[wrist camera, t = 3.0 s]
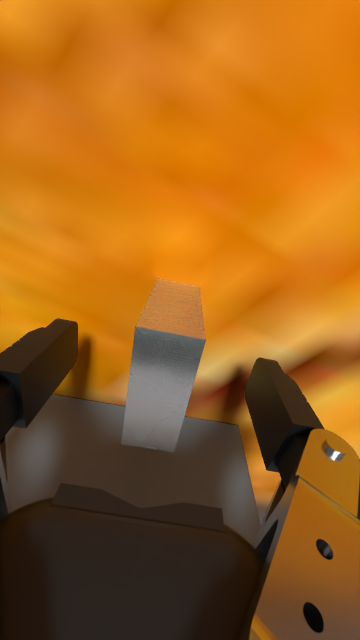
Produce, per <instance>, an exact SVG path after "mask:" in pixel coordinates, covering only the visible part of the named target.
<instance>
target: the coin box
mask: <svg viewBox="0 0 360 640" xmlns="http://www.w3.org/2000/svg"><path fill="white" fill-rule="evenodd" d="M125 408H126V407H125V406H119V405H113V404H107V403H101V402H95V401H90V400H84V399H78V398H72V397H66V396H60V395H54V394H52V395H51V396H50V398H49V399H48V400H47V402H46V403H45V404H44V406H43V407H42V408H41V410H40V411H39V412H38V414H37V415H36V416H35V418H34V419H33V420H32V422H31V423H30V424H29V426H28V427H27V428H26V429H25V428H19V427H12V428H11V429H10V430H9V432H8V433H7V434H6V438H7V454H8V471H9V489H10V499H11V507H12V511H14V510H16V509H18V508H20V507H22V506H25V505H27V504H30V503H33V502H35V501H38V500H42V499H46V498H51V497H54V496H55V494H56V492H57V490H58V488H59V486H60V483H65V484H71V485H78V486H84V487H90V488H97V489H102V490H104V491H106V492H108V493H110V494H112V495H114V496H116V497H118V498H120V499H122V500H124V501H126V502H128V503H130V504H132V505H134V506H136V507H139V508H149V507H155V506H162V505H169V504H175V503H182V502H185V503H191V504H197V505H204V506H210V507H216V508H222V513H223V522H224V524H225V525H227V526H229V527H230V528H232V529H233V530H235V531H236V532H238V533H239V534H240V535H241V536H243V537H244V538H245V539H246V540H247V541H248V542H249V543H250V544H252V542H253V540H254V538H255V537H256V535H257V533H258V530H259V528H260V526H261V524H260V520H259V516H258V511H257V507H256V502H255V498H254V493H253V489H252V484H251V480H250V476H249V471H248V467H247V462H246V458H245V453H244V449H243V444H242V440H241V436H240V431H239V427H238V425H233V424H227V423H221V422H215V421H209V420H203V419H197V418H191V417H185V416H184V419H183V423H182V427H181V430H180V434H179V437H178V441H177V444H176V448H175V452H168V451H162V450H156V449H149V448H143V447H137V446H131V445H125V444H121V441H122V433H123V425H124V417H125Z"/></svg>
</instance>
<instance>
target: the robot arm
mask: <svg viewBox="0 0 360 640" xmlns="http://www.w3.org/2000/svg"><path fill="white" fill-rule="evenodd" d="M77 354H78V324H77V322H74V321H69V320H63V319H56V320H54V321H53V322H52V323H51V324H49V325H48V326H47V327H46V328H43V327H41V328H39V329H36V330H33V331H31V332H29V333H27V334H26V335H25V336H23V337H22V338H21V339H20V340H19V341H17V342H15V343H14V344H13V345H12V346H11V347H9V348H7V349H6V350H5V351H3V352H2V353H1V354H0V640H360V459H359V457H358V455H357V453H356V452H355V451H354V449H353V448H352V447H351V446H350V445H349V444H348V443H347V442H346V441H345V440H344V439H342V438H341V437H339V436H338V435H336V434H334V433H333V432H330V431H328V430H325V429H324V427H323V426H322V424H321V422H320V421H319V419H318V417H317V416H316V414H315V413H314V411H313V409H312V408H311V406H310V405H309V403H308V402H307V400H306V398H305V396H304V395H303V394H302V392H301V390H300V388H299V387H298V385H297V383H296V382H295V381H294V380H292V379H291V378H290V377H289V376H288V375H287V374H284V372H283V371H282V369H281V367H280V365H279V364H278V362H277V361H275V360H270V359H264V358H258V359H257V360H256V362H255V364H254V366H253V369H252V371H251V374H250V376H249V379H248V381H247V384H246V387H245V399H246V403H247V406H248V409H249V413H250V416H251V419H252V423H253V426H254V430H255V433H256V436H257V440H258V443H259V447H260V450H261V453H262V457H263V460H264V464H265V467H266V470H268V471H274V472H279V473H280V476H281V480H280V481H279V483H278V485H277V487H276V490H275V492H274V495H273V497H272V499H271V502H270V504H269V507H268V509H267V511H266V514H265V516H264V519H263V521H262V524H261V526H260V528H259V530H258V533H257V535H256V537H255V538H254V540H253V542H252V544H250V543H249V542H248V541H247V540H246V539H245V538H244V537H243V536H241V535H240V534H239V533H238V532H236V531H235V530H233V529H232V528H230V527H229V526H227V525H225V524H224V522H223V513H222V508H216V507H210V506H204V505H197V504H191V503H185V502H182V503H175V504H169V505H162V506H155V507H149V508H139V507H136V506H134V505H132V504H130V503H128V502H126V501H124V500H122V499H120V498H118V497H116V496H114V495H112V494H110V493H108V492H106V491H104V490H102V489H97V488H90V487H84V486H78V485H71V484H65V483H60V486H59V488H58V490H57V492H56V494H55V496H54V497H51V498H46V499H42V500H38V501H35V502H33V503H30V504H27V505H25V506H22V507H20V508H18V509H16V510H14V511H12V507H11V499H10V489H9V471H8V454H7V438H6V434H7V433H8V432H9V430H10V429H11V428H12V427H19V428H25V429H26V428H27V427H28V426H29V424H30V423H31V422H32V420H33V419H34V418H35V416H36V415H37V414H38V412H39V411H40V410H41V408H42V407H43V406H44V404H45V403H46V402H47V400H48V399H49V398H50V396H51V395H52V394H53V392H54V391H55V390H56V388H57V387H58V386H59V384H60V383H61V382H62V380H63V379H64V378H65V376H66V375H67V374H68V372H69V371H70V370H71V369H72V367H73V366H74V364H75V362H76V359H77Z"/></svg>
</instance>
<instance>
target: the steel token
mask: <svg viewBox="0 0 360 640" xmlns="http://www.w3.org/2000/svg"><path fill="white" fill-rule="evenodd" d="M205 341H206V337H205V329H204V321H203V312H202V304H201V296H200V288H199V286H196V285H191V284H186V283H180V282H175V281H170V280H165V279H160V278H157V281H156V283H155V285H154V287H153V289H152V291H151V294H150V296H149V298H148V300H147V302H146V305H145V307H144V309H143V311H142V313H141V315H140V318H139V320H138V322H137V324H136V326H135V334H134V343H133V351H132V359H131V367H130V375H129V384H128V392H127V400H126V408H125V417H124V425H123V433H122V441H121V444H125V445H131V446H137V447H143V448H149V449H156V450H162V451H168V452H175V448H176V444H177V441H178V437H179V434H180V430H181V427H182V423H183V419H184V416H185V412H186V409H187V405H188V402H189V398H190V394H191V391H192V387H193V384H194V380H195V376H196V373H197V369H198V366H199V362H200V359H201V355H202V351H203V348H204V344H205Z"/></svg>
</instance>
